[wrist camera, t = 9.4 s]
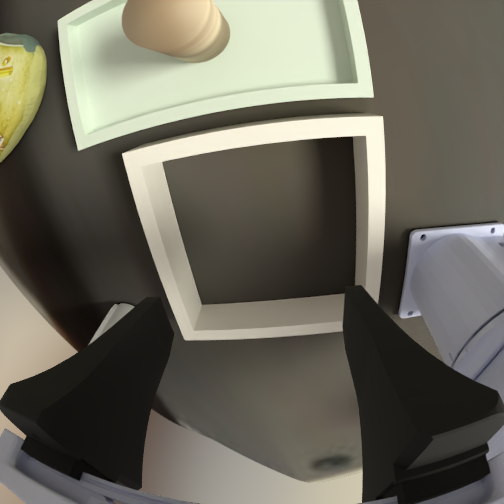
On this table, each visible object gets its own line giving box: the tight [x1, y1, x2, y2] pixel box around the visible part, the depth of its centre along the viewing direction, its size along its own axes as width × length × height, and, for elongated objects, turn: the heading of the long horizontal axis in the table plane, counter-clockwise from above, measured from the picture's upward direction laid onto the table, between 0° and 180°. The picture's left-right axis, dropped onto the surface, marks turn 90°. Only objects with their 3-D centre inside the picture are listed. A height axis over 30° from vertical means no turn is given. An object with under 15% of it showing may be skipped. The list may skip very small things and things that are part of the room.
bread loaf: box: [122, 0, 230, 63], centre depth 11 cm, size 4×4×6 cm
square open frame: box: [122, 113, 385, 340], centre depth 18 cm, size 14×14×3 cm
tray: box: [58, 0, 374, 151], centre depth 13 cm, size 18×10×2 cm, turn 99°
